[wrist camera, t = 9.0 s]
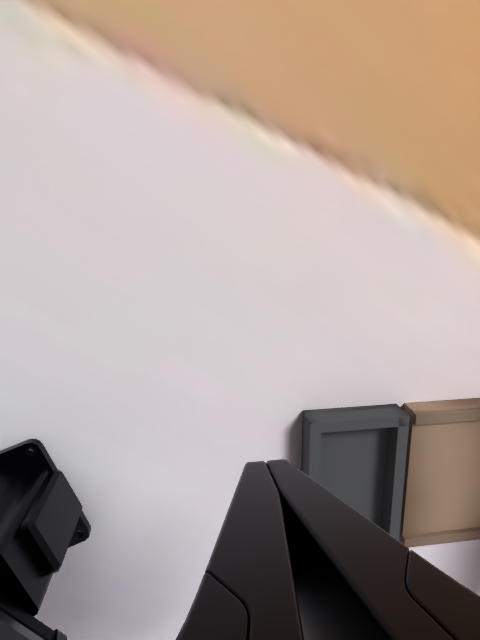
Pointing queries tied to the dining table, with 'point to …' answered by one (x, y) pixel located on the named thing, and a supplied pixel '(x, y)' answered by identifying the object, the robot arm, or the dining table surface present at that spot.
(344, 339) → the dining table surface
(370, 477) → the tray
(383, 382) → the dining table surface
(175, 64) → the dining table surface
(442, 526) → the track
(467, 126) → the dining table surface
